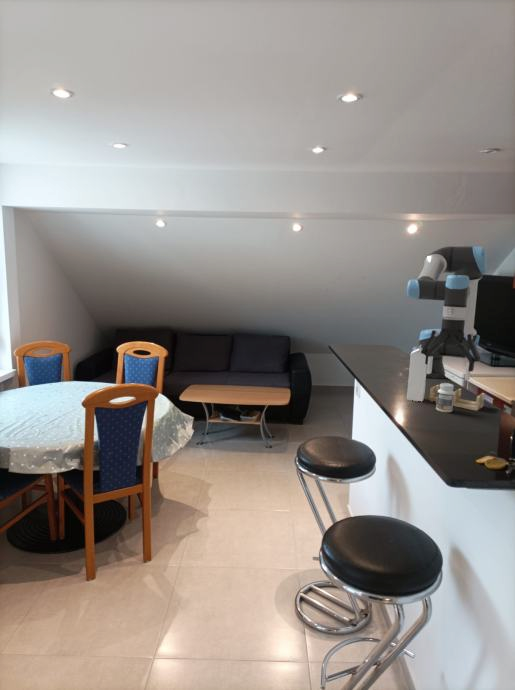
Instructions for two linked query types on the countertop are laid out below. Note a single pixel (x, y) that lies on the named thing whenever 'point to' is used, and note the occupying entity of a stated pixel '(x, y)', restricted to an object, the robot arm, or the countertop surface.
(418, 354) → the milk
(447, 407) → the pill bottle
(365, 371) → the countertop surface
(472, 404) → the rack
